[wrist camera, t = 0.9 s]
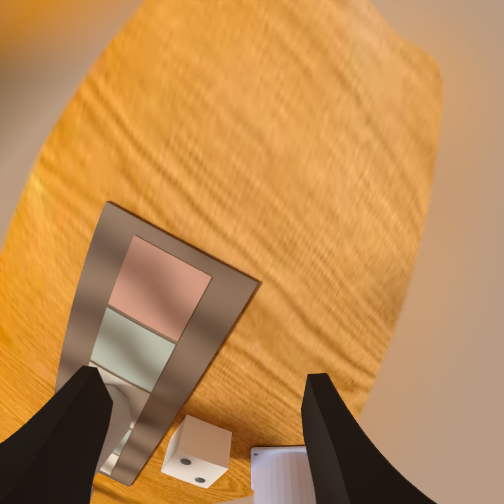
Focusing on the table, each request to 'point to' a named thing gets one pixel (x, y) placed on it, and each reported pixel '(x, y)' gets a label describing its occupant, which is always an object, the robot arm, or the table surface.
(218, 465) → the die
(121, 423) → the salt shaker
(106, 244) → the game board
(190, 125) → the table surface
